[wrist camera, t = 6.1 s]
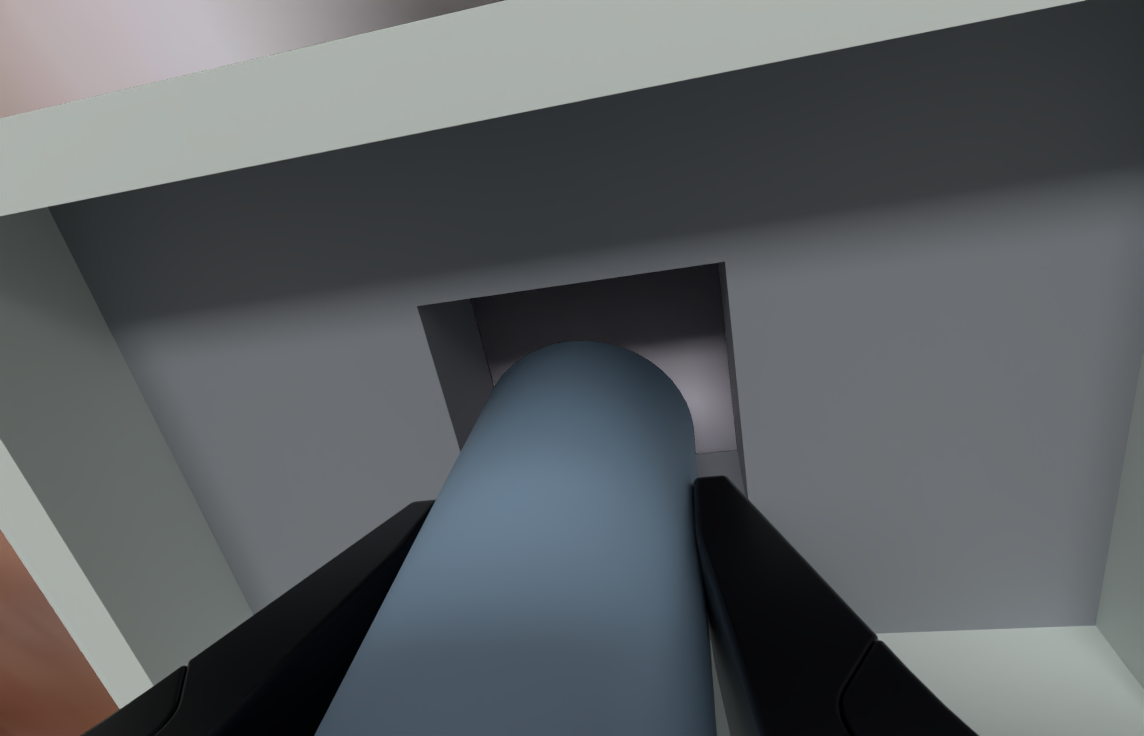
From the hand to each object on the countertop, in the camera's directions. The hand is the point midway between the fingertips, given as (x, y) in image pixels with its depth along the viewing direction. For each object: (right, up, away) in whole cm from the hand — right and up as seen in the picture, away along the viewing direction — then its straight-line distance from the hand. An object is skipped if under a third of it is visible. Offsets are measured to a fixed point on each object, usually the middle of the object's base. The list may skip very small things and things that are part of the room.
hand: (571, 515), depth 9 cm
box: (+1, +2, +4) cm, 5 cm away
